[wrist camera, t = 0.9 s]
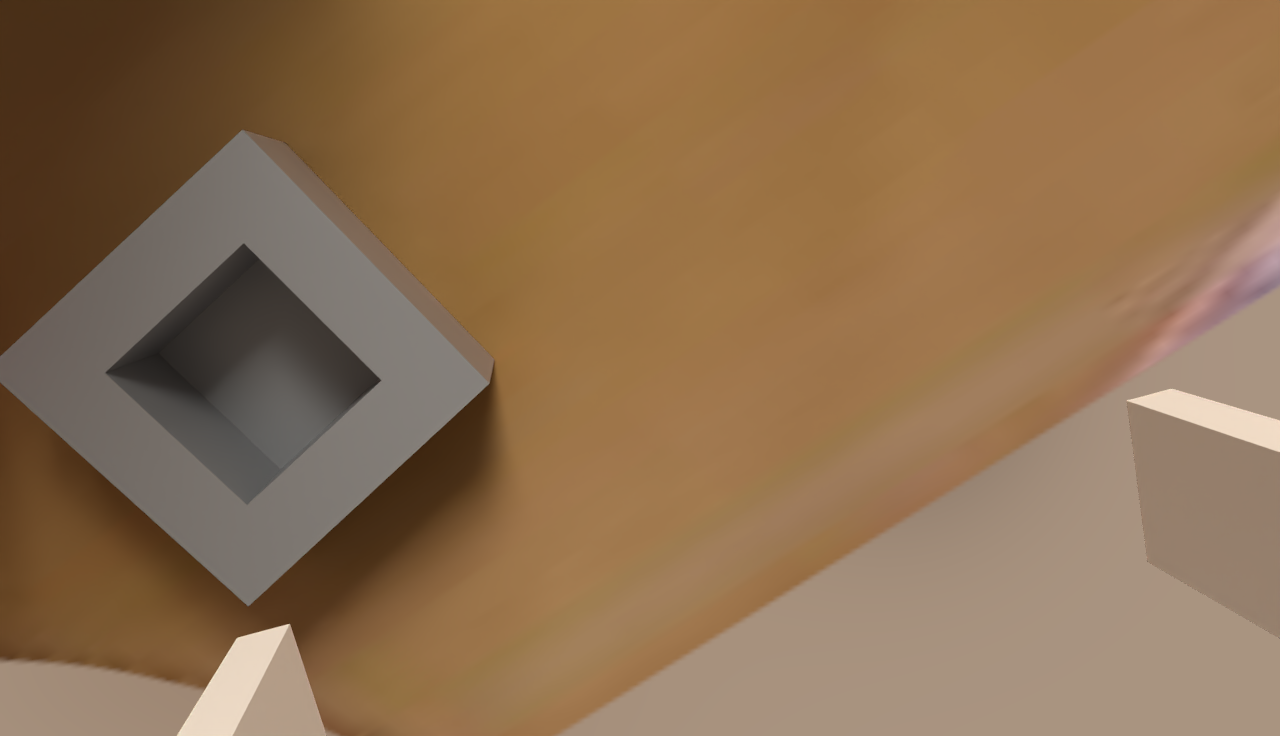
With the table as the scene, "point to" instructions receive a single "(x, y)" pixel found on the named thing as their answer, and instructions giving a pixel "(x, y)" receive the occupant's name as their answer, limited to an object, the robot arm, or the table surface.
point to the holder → (247, 364)
